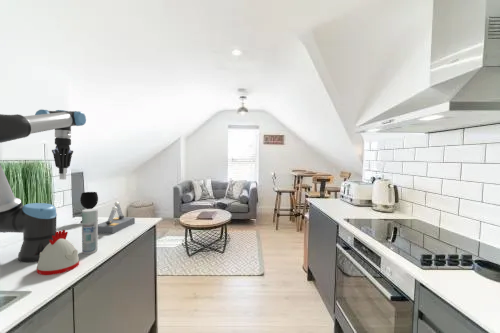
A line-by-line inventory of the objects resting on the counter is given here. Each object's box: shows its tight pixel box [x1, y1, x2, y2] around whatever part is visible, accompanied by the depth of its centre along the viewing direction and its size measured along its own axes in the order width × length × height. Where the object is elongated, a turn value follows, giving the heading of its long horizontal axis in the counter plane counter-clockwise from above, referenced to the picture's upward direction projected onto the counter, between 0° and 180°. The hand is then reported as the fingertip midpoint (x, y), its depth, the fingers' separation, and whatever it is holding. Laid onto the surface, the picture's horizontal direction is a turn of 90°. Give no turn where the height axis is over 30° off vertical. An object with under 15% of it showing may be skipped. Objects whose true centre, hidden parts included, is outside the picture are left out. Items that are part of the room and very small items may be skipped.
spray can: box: [81, 208, 99, 255], centre depth 123 cm, size 6×6×20 cm
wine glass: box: [80, 191, 99, 224], centre depth 179 cm, size 10×10×20 cm
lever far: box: [114, 201, 125, 219], centre depth 172 cm, size 3×3×12 cm
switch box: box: [98, 216, 136, 235], centre depth 165 cm, size 24×12×4 cm, turn 175°
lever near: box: [105, 206, 117, 225], centre depth 157 cm, size 3×3×12 cm
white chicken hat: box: [36, 229, 80, 276], centre depth 106 cm, size 14×14×15 cm
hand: (62, 179), depth 148 cm, fingers closed
